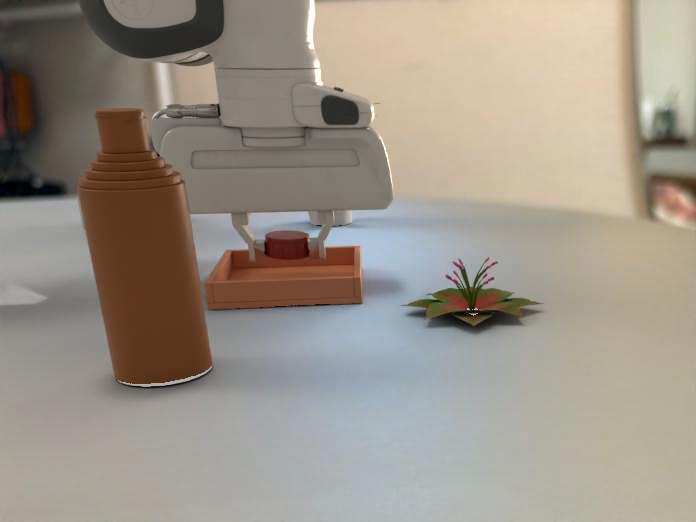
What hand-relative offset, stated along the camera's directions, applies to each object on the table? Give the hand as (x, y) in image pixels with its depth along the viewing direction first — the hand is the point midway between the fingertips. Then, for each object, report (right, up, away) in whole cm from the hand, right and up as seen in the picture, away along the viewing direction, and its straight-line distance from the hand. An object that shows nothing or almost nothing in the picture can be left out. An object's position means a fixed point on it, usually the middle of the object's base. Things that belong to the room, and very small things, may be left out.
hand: (288, 259), depth 80 cm
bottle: (-3, -11, -20) cm, 23 cm away
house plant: (-2, +10, +31) cm, 32 cm away
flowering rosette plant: (+18, -6, -6) cm, 20 cm away
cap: (0, +2, 0) cm, 2 cm away
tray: (0, -2, +1) cm, 3 cm away
